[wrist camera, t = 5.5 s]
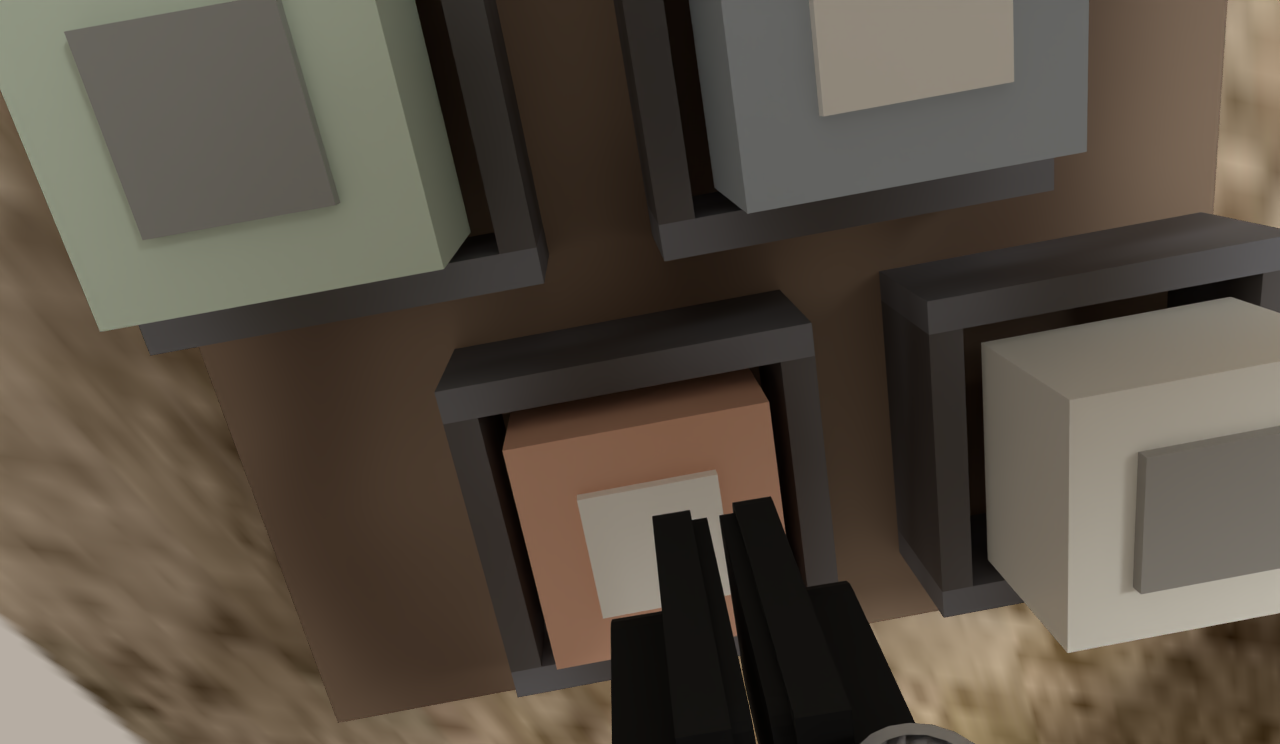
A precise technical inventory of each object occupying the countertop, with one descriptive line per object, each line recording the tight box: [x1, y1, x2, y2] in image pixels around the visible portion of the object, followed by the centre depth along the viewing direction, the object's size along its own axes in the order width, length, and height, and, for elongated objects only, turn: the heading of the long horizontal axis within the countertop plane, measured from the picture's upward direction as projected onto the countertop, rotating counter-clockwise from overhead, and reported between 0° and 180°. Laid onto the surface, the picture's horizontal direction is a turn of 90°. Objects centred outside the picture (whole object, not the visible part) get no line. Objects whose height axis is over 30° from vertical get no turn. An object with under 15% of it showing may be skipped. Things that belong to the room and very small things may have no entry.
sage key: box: [0, 0, 471, 332], centre depth 11 cm, size 4×4×3 cm
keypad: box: [139, 0, 1280, 723], centre depth 15 cm, size 20×18×3 cm
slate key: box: [689, 0, 1089, 214], centre depth 11 cm, size 4×4×3 cm
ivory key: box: [981, 297, 1280, 653], centre depth 14 cm, size 4×4×3 cm
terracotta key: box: [502, 368, 786, 670], centre depth 16 cm, size 4×4×3 cm
